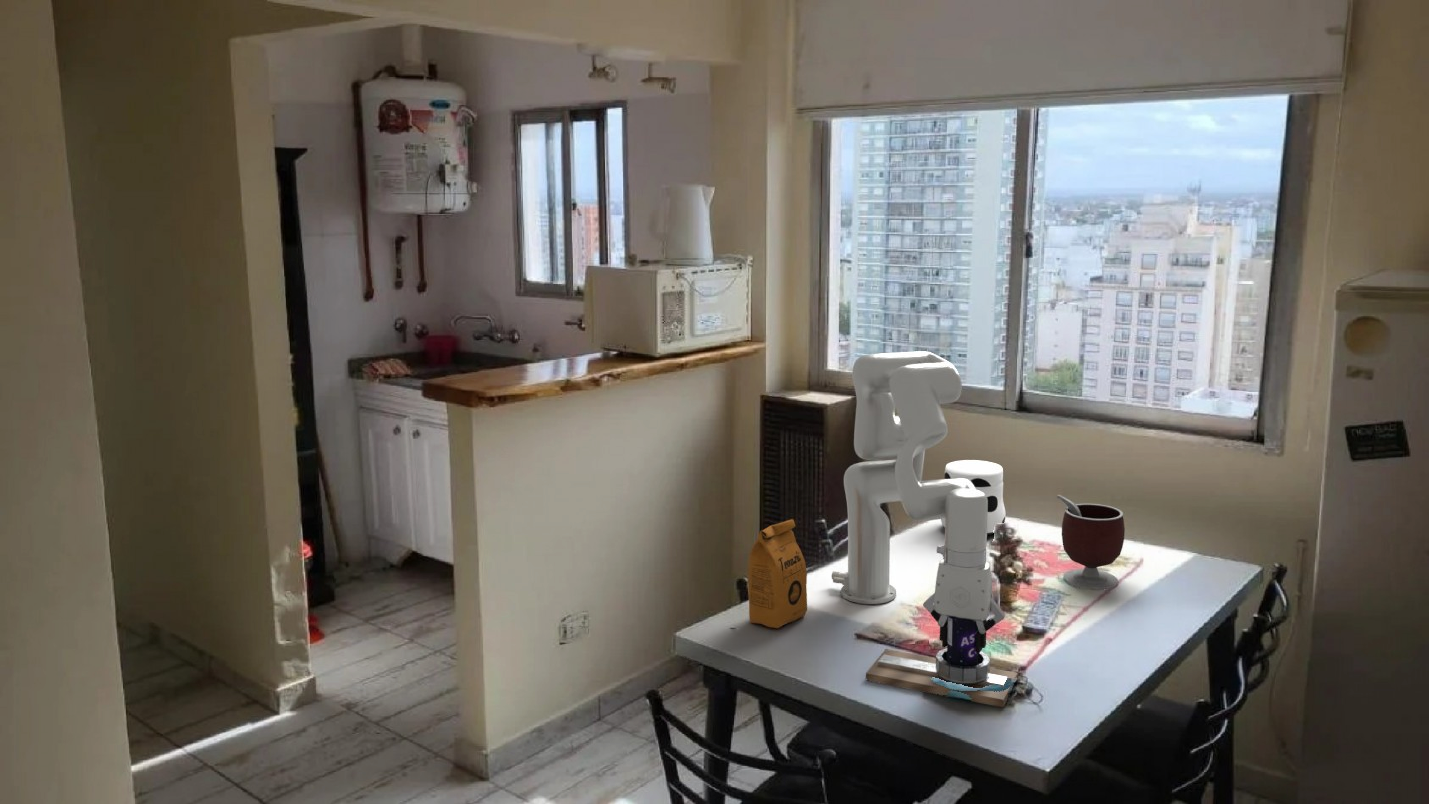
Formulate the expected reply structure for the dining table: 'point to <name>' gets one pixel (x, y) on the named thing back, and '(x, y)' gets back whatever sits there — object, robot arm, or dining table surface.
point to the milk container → (982, 485)
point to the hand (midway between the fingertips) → (962, 646)
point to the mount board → (927, 685)
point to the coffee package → (777, 577)
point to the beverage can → (961, 641)
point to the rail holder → (948, 669)
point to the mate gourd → (1092, 543)
